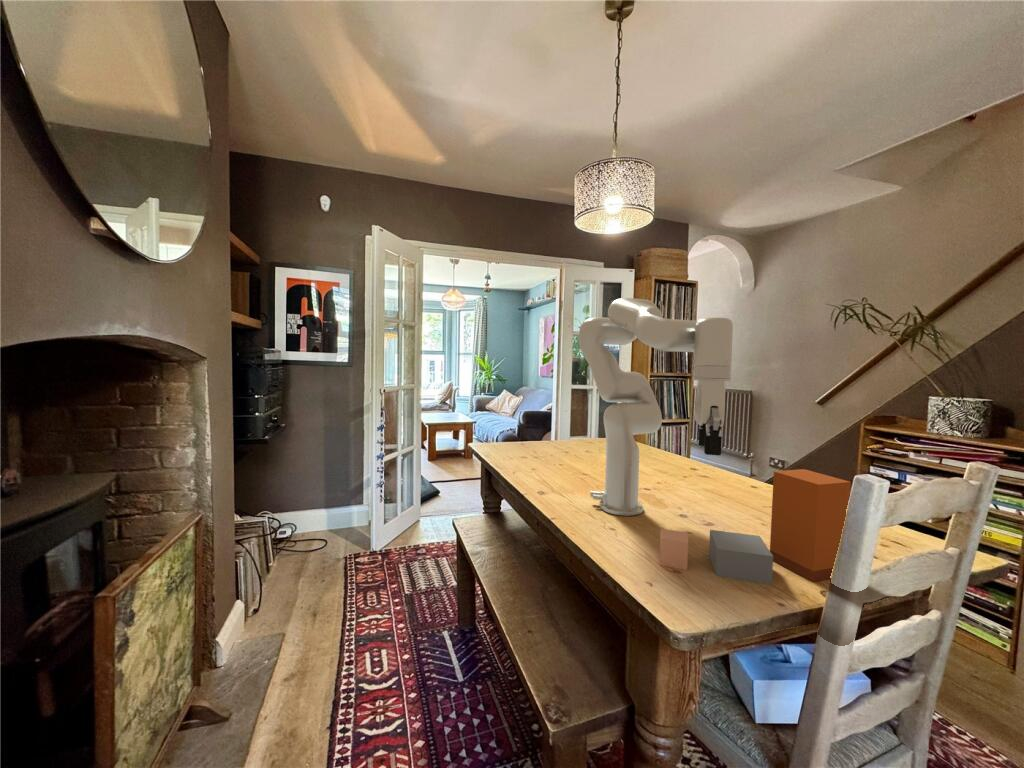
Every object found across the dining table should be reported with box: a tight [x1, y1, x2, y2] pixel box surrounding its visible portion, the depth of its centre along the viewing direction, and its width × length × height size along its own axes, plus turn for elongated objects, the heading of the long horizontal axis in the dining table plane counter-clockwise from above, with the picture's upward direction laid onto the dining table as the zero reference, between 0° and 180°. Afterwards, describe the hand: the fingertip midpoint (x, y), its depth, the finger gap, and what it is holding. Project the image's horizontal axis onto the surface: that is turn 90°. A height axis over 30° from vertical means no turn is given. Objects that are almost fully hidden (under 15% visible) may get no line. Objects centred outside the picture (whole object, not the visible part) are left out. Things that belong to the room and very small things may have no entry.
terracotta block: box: [659, 528, 689, 571], centre depth 90 cm, size 6×6×6 cm
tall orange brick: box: [769, 468, 852, 582], centre depth 88 cm, size 10×9×20 cm
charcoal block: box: [708, 529, 774, 585], centre depth 88 cm, size 10×10×6 cm
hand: (709, 450), depth 92 cm, fingers open, 9 cm apart
